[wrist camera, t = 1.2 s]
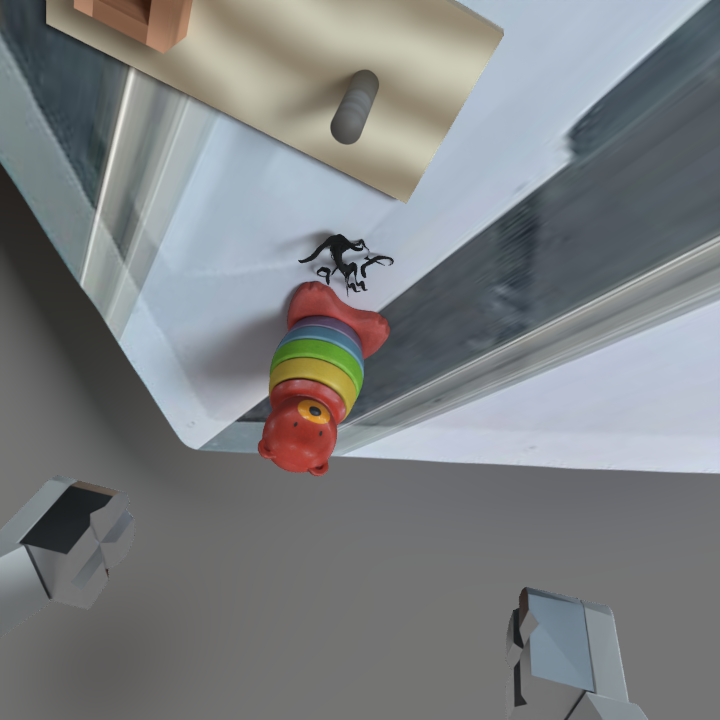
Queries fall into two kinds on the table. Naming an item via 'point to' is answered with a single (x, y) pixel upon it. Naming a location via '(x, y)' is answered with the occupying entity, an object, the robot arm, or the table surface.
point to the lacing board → (322, 73)
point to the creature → (337, 248)
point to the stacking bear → (317, 377)
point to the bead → (143, 19)
